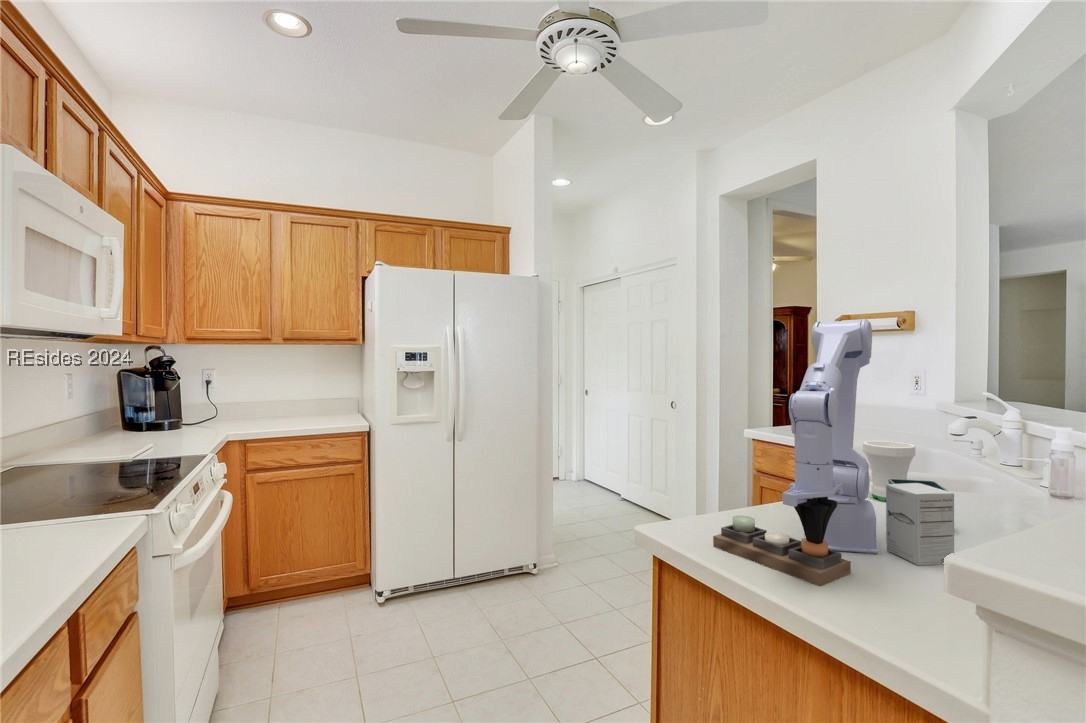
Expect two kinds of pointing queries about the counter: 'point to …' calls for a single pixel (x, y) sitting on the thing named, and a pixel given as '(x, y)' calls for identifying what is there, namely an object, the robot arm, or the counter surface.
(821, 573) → the button board
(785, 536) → the cream button
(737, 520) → the sage button
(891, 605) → the counter surface
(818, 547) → the terracotta button
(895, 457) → the cup
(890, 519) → the supplement box
